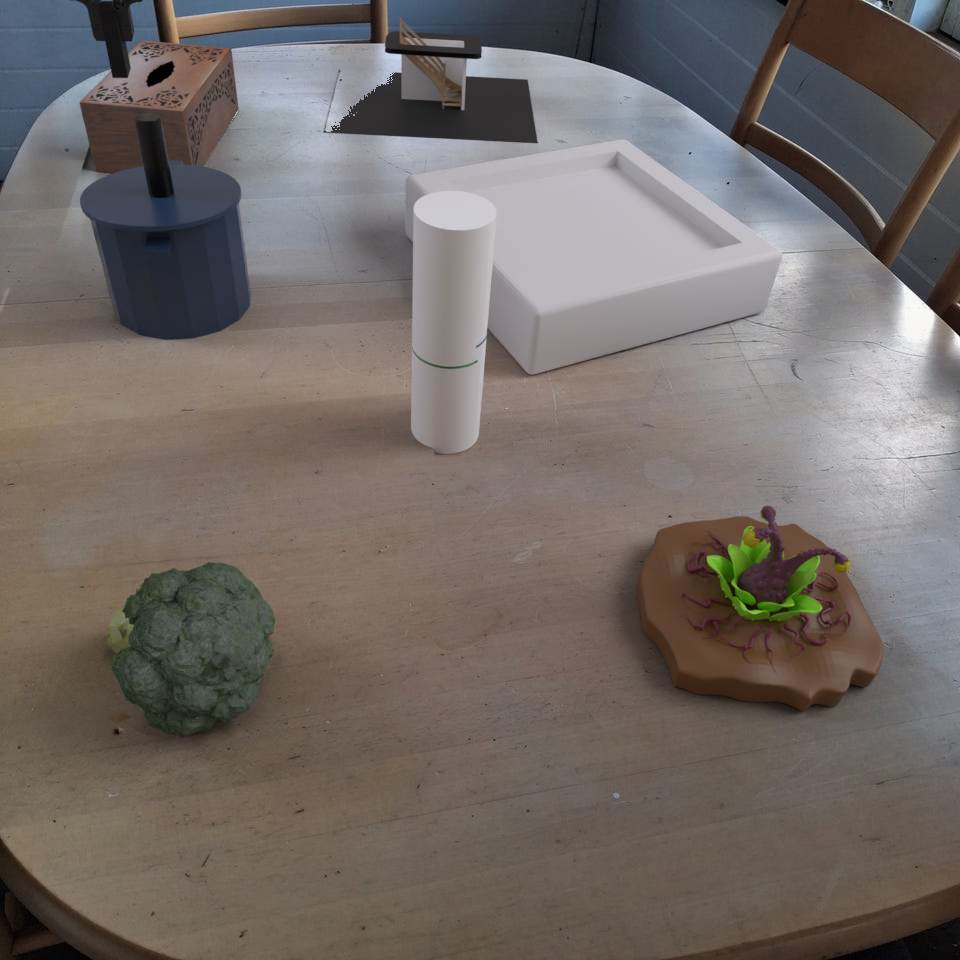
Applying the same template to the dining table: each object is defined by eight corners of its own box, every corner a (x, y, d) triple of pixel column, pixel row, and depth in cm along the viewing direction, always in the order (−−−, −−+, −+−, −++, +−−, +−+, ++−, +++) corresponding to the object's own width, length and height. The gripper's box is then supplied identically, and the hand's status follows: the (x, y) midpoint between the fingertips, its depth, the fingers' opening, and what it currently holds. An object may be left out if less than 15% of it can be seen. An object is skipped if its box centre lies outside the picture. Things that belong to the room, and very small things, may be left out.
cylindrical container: (491, 425, 96) (511, 206, 79) (456, 463, 91) (469, 238, 74) (434, 401, 98) (442, 183, 81) (397, 436, 94) (397, 213, 76)
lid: (68, 239, 90) (44, 148, 85) (96, 175, 103) (76, 91, 97) (238, 235, 93) (226, 145, 87) (245, 172, 105) (234, 90, 99)
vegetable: (197, 554, 78) (318, 568, 69) (184, 704, 77) (305, 738, 68) (61, 551, 68) (182, 567, 59) (45, 723, 67) (165, 766, 58)
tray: (403, 235, 124) (403, 173, 118) (615, 193, 137) (625, 136, 131) (528, 379, 102) (536, 312, 96) (766, 313, 115) (787, 251, 109)
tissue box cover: (152, 103, 151) (141, 40, 144) (238, 111, 151) (231, 48, 144) (96, 171, 132) (79, 102, 125) (194, 180, 132) (183, 111, 125)
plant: (617, 531, 86) (638, 443, 78) (815, 529, 87) (855, 443, 80) (662, 717, 71) (694, 631, 64) (898, 710, 73) (957, 626, 65)
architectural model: (323, 132, 147) (317, 39, 137) (339, 69, 167) (335, -16, 157) (537, 142, 149) (547, 52, 139) (527, 79, 169) (535, -4, 159)
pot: (105, 360, 100) (73, 246, 90) (126, 262, 115) (100, 155, 105) (249, 353, 102) (233, 242, 93) (252, 258, 117) (238, 153, 108)
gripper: (-26, -208, 74) (48, 86, 90) (140, -198, 76) (184, 88, 92) (-6, -222, 79) (61, 58, 95) (149, -212, 81) (189, 60, 98)
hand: (121, 72), depth 94 cm, fingers closed
